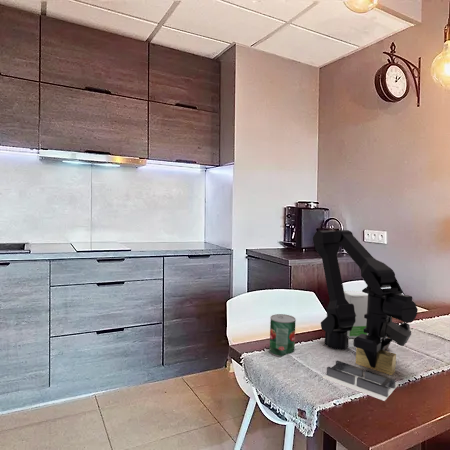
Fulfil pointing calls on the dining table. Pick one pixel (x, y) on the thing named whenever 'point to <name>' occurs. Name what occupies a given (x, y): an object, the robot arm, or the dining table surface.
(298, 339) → the dining table surface
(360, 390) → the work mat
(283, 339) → the canned tomato
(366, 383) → the gray two-section tray
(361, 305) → the skincare box
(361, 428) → the dining table surface
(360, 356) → the tan block
